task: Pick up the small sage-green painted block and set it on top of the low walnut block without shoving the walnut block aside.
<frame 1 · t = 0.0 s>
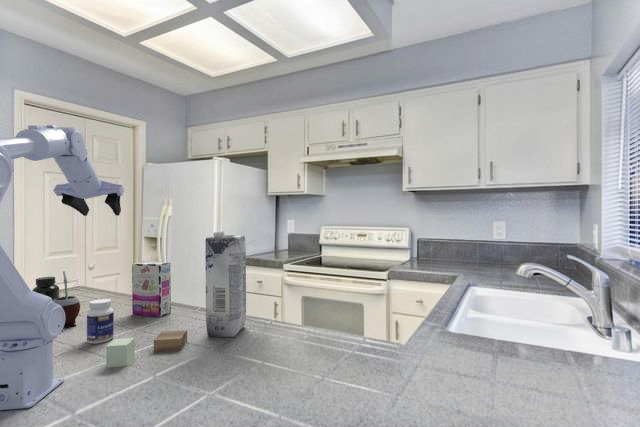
hand: (102, 212, 88), 32 cm above the counter, tool tilted 50°, fingers open, 7 cm apart
walnut block: (171, 347, 82), on the counter
supplement bottle: (46, 316, 108), on the counter
pill bottle: (100, 340, 86), on the counter
sage block: (121, 363, 73), on the counter
juice carton: (226, 332, 92), on the counter
mate gourd: (64, 326, 98), on the counter
candy bar box: (151, 314, 109), on the counter
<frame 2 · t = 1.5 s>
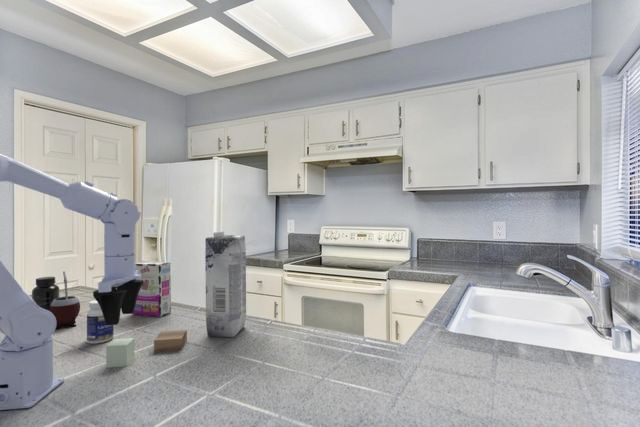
hand: (120, 318, 73), 9 cm above the counter, tool pointing down, fingers open, 7 cm apart
nothing on the counter moved.
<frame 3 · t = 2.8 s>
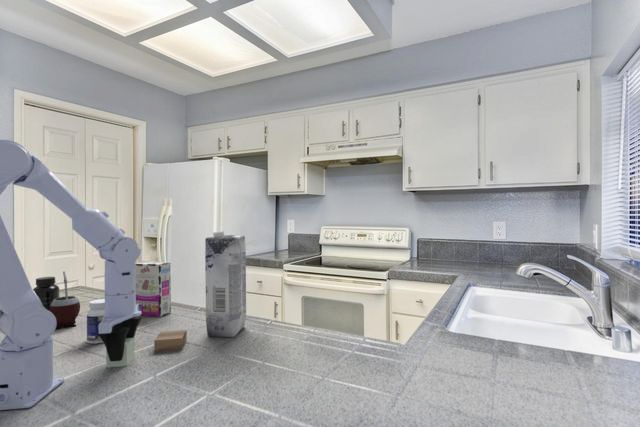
hand: (120, 355, 73), 1 cm above the counter, tool pointing down, fingers closed on sage block, 4 cm apart
sage block: (121, 362, 73), on the counter, touching gripper
everything else where it was.
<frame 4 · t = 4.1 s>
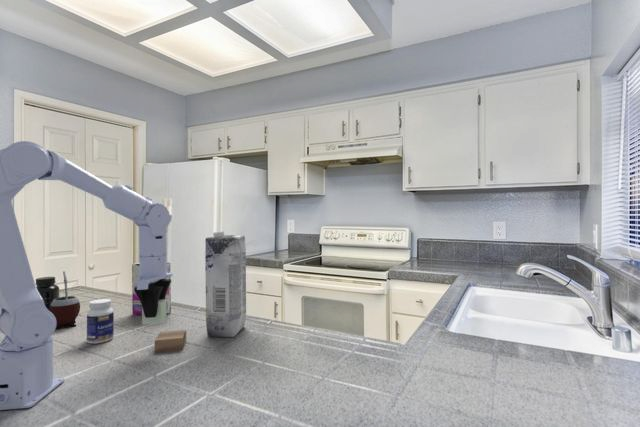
hand: (154, 314, 79), 9 cm above the counter, tool pointing down, fingers closed on sage block, 4 cm apart
sage block: (154, 321, 79), point 7 cm above the counter, touching gripper
everything else where it was.
when the fingers open (6 cm above the counter, at t = 5.2 s): sage block drops 1 cm, resting on walnut block.
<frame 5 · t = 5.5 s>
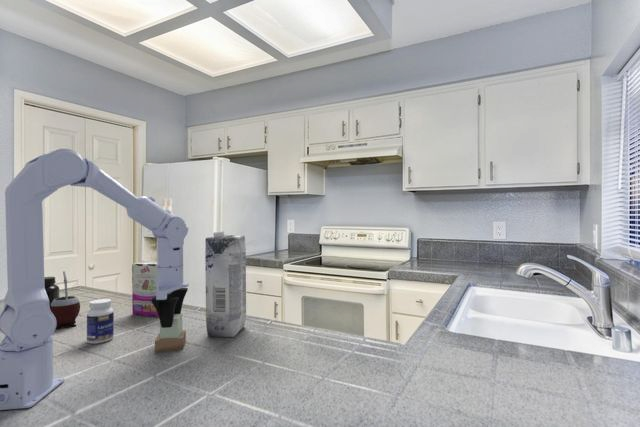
hand: (171, 322, 82), 6 cm above the counter, tool pointing down, fingers open, 6 cm apart
walnut block: (171, 347, 82), on the counter, touching sage block
sage block: (171, 335, 82), point 3 cm above the counter, touching walnut block
everything else where it was.
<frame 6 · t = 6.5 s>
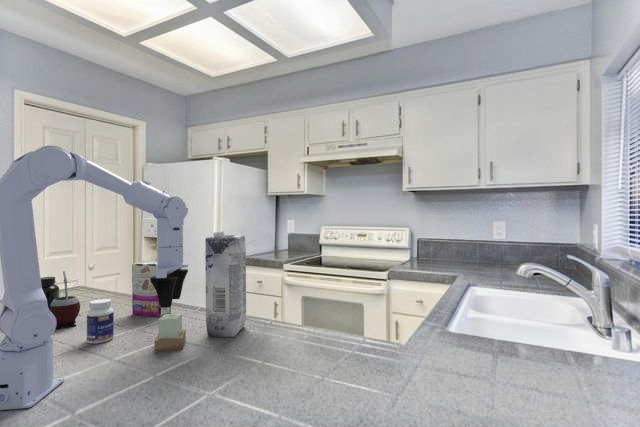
hand: (170, 302, 82), 10 cm above the counter, tool pointing down, fingers open, 7 cm apart
nothing on the counter moved.
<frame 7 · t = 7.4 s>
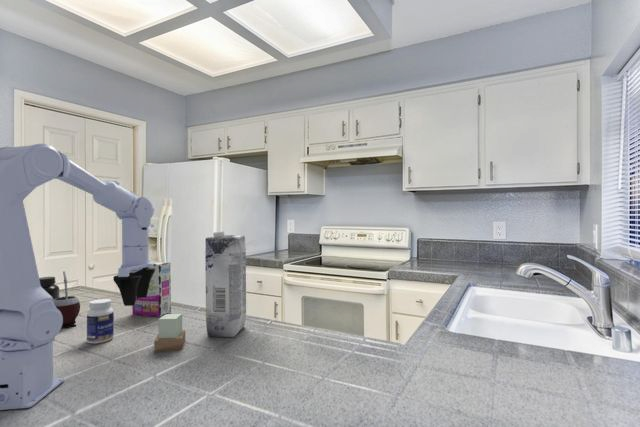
hand: (135, 301, 84), 10 cm above the counter, tool pointing down, fingers open, 7 cm apart
walnut block: (170, 347, 82), on the counter
sage block: (170, 335, 82), point 3 cm above the counter
everything else where it was.
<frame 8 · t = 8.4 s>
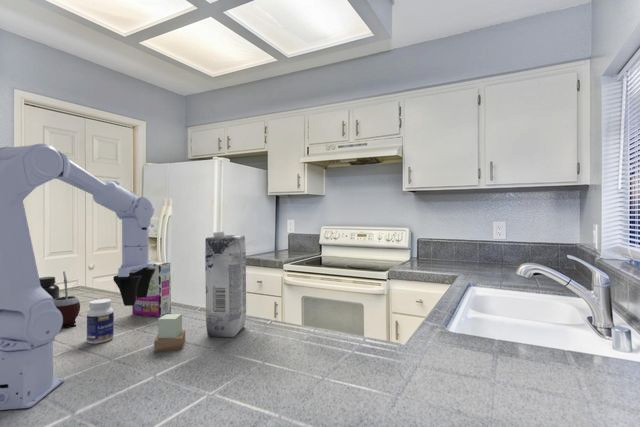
hand: (135, 301, 84), 10 cm above the counter, tool pointing down, fingers open, 7 cm apart
walnut block: (170, 347, 82), on the counter, touching sage block
sage block: (170, 335, 82), point 3 cm above the counter, touching walnut block
everything else where it was.
at the end: sage block 0.2 cm off-centre on the walnut block, point 3.0 cm above the walnut block's base; sage block tilted 1°; walnut block moved 0.5 cm from its start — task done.
